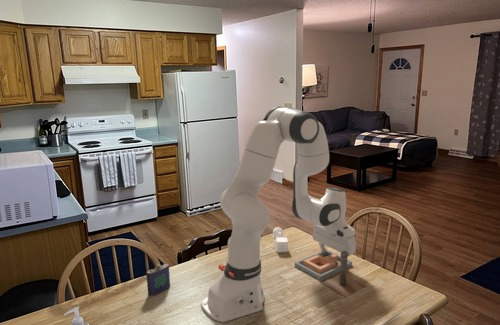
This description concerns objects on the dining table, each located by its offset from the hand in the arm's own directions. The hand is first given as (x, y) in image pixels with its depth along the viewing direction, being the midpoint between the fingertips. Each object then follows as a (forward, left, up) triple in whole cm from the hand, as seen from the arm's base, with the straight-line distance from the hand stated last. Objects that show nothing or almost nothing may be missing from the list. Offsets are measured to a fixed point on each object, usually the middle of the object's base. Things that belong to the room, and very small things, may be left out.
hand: (332, 257), depth 152 cm
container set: (-4, +29, -4) cm, 29 cm away
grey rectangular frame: (-5, 0, -3) cm, 6 cm away
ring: (-5, 0, -2) cm, 6 cm away
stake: (-10, -14, -3) cm, 18 cm away
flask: (-65, +26, -4) cm, 71 cm away
